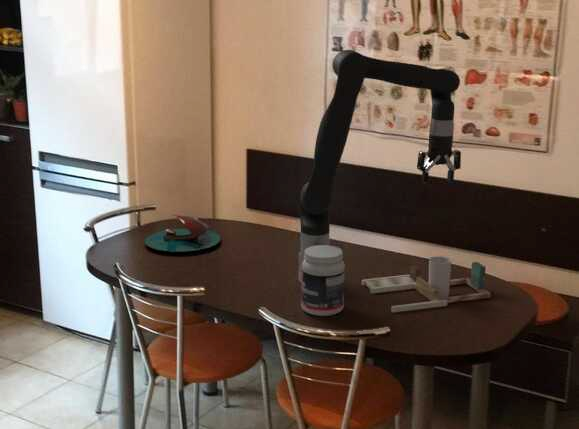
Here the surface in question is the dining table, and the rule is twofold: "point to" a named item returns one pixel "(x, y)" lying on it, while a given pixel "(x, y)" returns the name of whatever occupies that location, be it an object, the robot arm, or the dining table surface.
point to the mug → (440, 275)
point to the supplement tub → (322, 280)
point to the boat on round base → (184, 237)
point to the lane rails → (404, 287)
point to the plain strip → (396, 279)
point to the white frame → (475, 283)
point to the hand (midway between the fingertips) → (437, 182)
